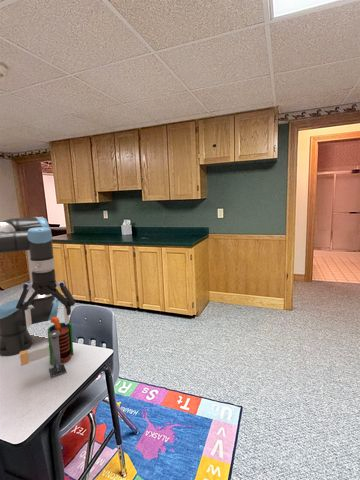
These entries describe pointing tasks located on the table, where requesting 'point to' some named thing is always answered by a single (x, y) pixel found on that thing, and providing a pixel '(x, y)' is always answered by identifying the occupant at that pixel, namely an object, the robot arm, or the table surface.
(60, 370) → the post
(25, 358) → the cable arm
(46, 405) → the table surface
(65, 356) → the motor
